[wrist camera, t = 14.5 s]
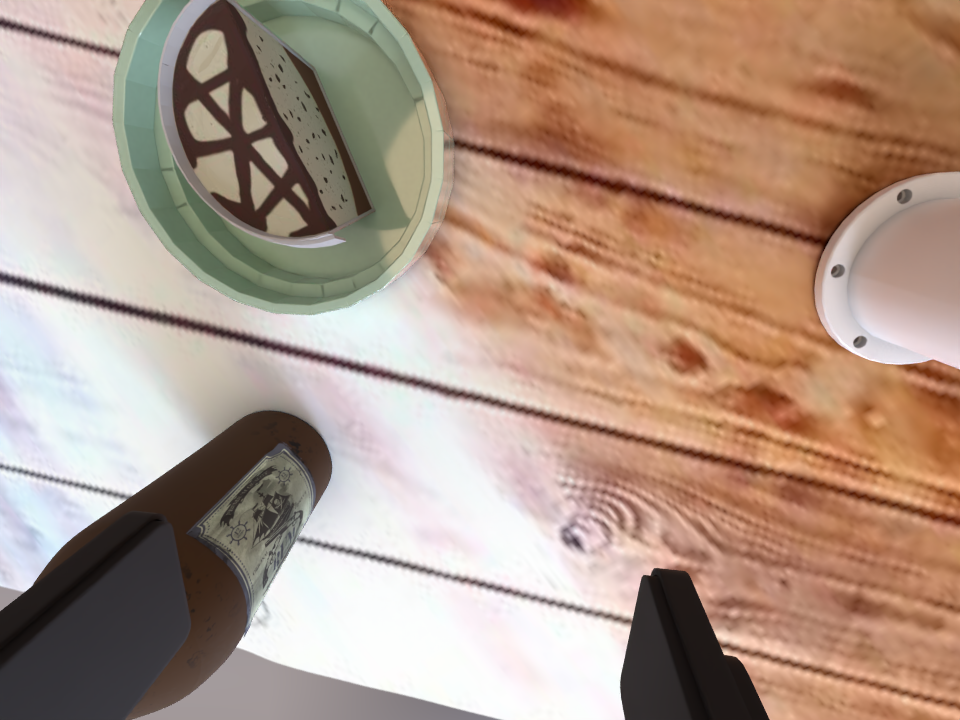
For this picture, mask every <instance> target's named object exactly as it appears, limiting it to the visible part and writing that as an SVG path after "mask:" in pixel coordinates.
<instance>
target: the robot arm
mask: <svg viewBox="0 0 960 720" xmlns="http://www.w3.org/2000/svg"><path fill="white" fill-rule="evenodd" d="M832 268H833V269H832ZM831 270H832V271H831ZM814 293H815V303H816V309H817V312H818V315H819V318H820V321H821V323H822V324H823V326H824V328H825V329H826V331H827V332H828V334H829V335H830V336H831V337H832V338H833V339H834V340H835V341H836V342H837V343H838V344H839V345H840V346H842V347H844V348H845V349H847V350H849V351H850V352H852V353H854V354H856V355H859V356H861V357H863V358H866V359H868V360H872V361H876V362H880V363H884V364H902V365H903V364H911V363H920V362H924V361H928V360H932V359H934V360H937V361H939V362H942V363H945V364H947V365H950V366H953V367H955V368H958V369H960V172H937V173H931V174H924V175H918V176H914V177H911V178H908V179H905V180H902V181H899V182H896V183H894V184H892V185H890V186H888V187H886V188H884V189H883V190H881V191H879V192H877V193H875V194H874V195H873V196H871V197H870V198H868V199H867V200H866V201H864V202H863V203H862V204H860V205H859V206H858V207H857V208H856V209H855V210H854V211H853V212H852V213H851V214H850V215H849V216H848V217H847V218H846V219H845V220H844V221H843V222H842V223H841V225H840V226H839V227H838V229H837V230H836V231H835V233H834V234H833V235H832V237H831V238H830V240H829V242H828V244H827V246H826V248H825V250H824V252H823V254H822V256H821V259H820V262H819V266H818V269H817V272H816V279H815V288H814ZM190 628H191V618H190V613H189V608H188V603H187V598H186V593H185V587H184V582H183V577H182V572H181V567H180V562H179V556H178V551H177V546H176V541H175V536H174V530H173V527H172V524H171V523H169V522H168V521H167V519H166V517H165V516H164V515H163V514H160V513H151V512H142V511H130V512H128V513H126V514H124V515H123V516H121V517H120V518H119V519H118V520H116V521H115V522H114V523H112V524H111V525H110V526H109V527H107V528H106V529H105V530H104V531H102V532H101V533H100V534H98V535H97V536H96V537H95V538H93V539H92V540H91V541H89V542H88V543H87V544H86V545H84V546H83V547H82V548H81V549H79V550H78V551H77V552H75V553H74V554H73V555H72V556H70V557H69V558H68V559H66V560H65V561H64V562H63V563H61V564H60V565H59V566H58V567H56V568H55V569H54V570H52V571H51V572H50V573H49V574H47V575H46V576H45V577H44V578H42V579H41V580H40V581H38V582H37V583H36V584H35V585H33V586H32V587H31V588H29V589H28V590H27V591H26V592H24V593H23V594H22V595H21V596H19V597H18V598H17V599H15V600H14V601H13V602H12V603H10V604H9V605H8V606H6V607H5V608H4V609H3V610H1V611H0V720H125V719H126V718H127V716H128V715H129V714H130V713H131V711H132V710H133V709H134V707H135V706H136V705H137V703H138V702H139V701H140V700H141V698H142V697H143V696H144V694H145V693H146V692H147V690H148V689H149V688H150V687H151V685H152V684H153V683H154V681H155V680H156V679H157V678H158V676H159V675H160V674H161V672H162V671H163V670H164V668H165V667H166V666H167V665H168V663H169V662H170V661H171V659H172V658H173V657H174V655H175V654H176V653H177V652H178V650H179V649H180V648H181V646H182V645H183V644H184V642H185V641H186V639H187V637H188V635H189V632H190ZM620 690H621V700H622V705H623V710H624V716H625V720H769V718H768V715H767V713H766V711H765V709H764V707H763V705H762V703H761V700H760V698H759V696H758V694H757V692H756V690H755V687H754V685H753V683H752V681H751V679H750V677H749V675H748V673H747V671H746V669H745V667H744V666H743V664H742V663H741V662H740V661H739V660H738V659H737V657H733V656H728V655H724V654H723V652H722V650H721V647H720V645H719V643H718V640H717V638H716V636H715V633H714V631H713V629H712V626H711V624H710V622H709V619H708V617H707V615H706V613H705V610H704V608H703V606H702V603H701V601H700V599H699V596H698V594H697V592H696V589H695V587H694V585H693V582H692V580H691V578H690V576H689V574H688V573H687V572H686V571H678V570H669V569H660V568H654V569H653V571H652V573H651V576H648V575H643V577H642V579H641V583H640V588H639V592H638V597H637V602H636V607H635V612H634V616H633V621H632V626H631V631H630V635H629V640H628V645H627V650H626V654H625V659H624V664H623V669H622V674H621V681H620Z"/></svg>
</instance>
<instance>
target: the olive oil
mask: <svg viewBox="0 0 960 720" xmlns="http://www.w3.org/2000/svg"><path fill="white" fill-rule="evenodd" d="M331 472H332V463H331V457H330V454H329V451H328V448H327V446H326V444H325V443H324V441H323V440H322V438H321V437H320V436H319V434H318V433H317V432H316V431H315V430H314V429H313V428H312V427H311V426H309V425H308V424H307V423H305V422H304V421H302V420H300V419H298V418H296V417H294V416H292V415H289V414H286V413H282V412H276V411H261V412H256V413H253V414H250V415H247V416H245V417H243V418H242V419H240V420H239V421H237V422H236V423H234V424H233V425H232V426H230V427H229V428H228V429H226V430H225V431H224V432H222V433H221V434H219V435H218V436H217V437H215V438H214V439H213V440H211V441H210V442H209V443H207V444H206V445H205V446H203V447H202V448H200V449H199V450H198V451H196V452H195V453H193V454H192V455H191V456H189V457H188V458H186V459H185V460H183V461H182V462H181V463H179V464H178V465H176V466H175V467H173V468H172V469H171V470H169V471H168V472H166V473H165V474H163V475H162V476H161V477H159V478H158V479H156V480H155V481H153V482H152V483H151V484H149V485H148V486H146V487H145V488H143V489H142V490H140V491H139V492H138V493H136V494H135V495H133V496H132V497H130V498H129V499H127V500H126V501H124V502H123V503H122V504H120V505H119V506H117V507H116V508H114V509H113V510H111V511H110V512H108V513H107V514H105V515H104V516H103V517H101V518H100V519H98V520H97V521H95V522H94V523H92V524H91V525H89V526H88V527H87V528H85V529H84V530H82V531H81V532H80V533H78V534H77V535H76V536H74V537H73V538H72V539H71V540H70V541H69V542H67V543H66V544H65V545H64V546H63V547H62V548H61V549H60V550H59V551H58V552H57V554H56V555H55V556H54V557H53V558H52V559H51V561H50V562H49V563H48V565H47V566H46V567H45V569H44V570H43V571H42V573H41V574H40V575H39V577H38V578H37V580H36V581H35V583H34V584H33V585H35V584H36V583H37V582H38V581H40V580H41V579H42V578H44V577H45V576H46V575H47V574H49V573H50V572H51V571H52V570H54V569H55V568H56V567H58V566H59V565H60V564H61V563H63V562H64V561H65V560H66V559H68V558H69V557H70V556H72V555H73V554H74V553H75V552H77V551H78V550H79V549H81V548H82V547H83V546H84V545H86V544H87V543H88V542H89V541H91V540H92V539H93V538H95V537H96V536H97V535H98V534H100V533H101V532H102V531H104V530H105V529H106V528H107V527H109V526H110V525H111V524H112V523H114V522H115V521H116V520H118V519H119V518H120V517H121V516H123V515H124V514H126V513H128V512H130V511H142V512H151V513H160V514H163V515H164V516H165V517H166V519H167V521H168V522H169V523H171V524H172V527H173V530H174V536H175V541H176V546H177V551H178V556H179V562H180V567H181V572H182V577H183V582H184V587H185V593H186V598H187V603H188V608H189V613H190V618H191V628H190V632H189V635H188V637H187V639H186V641H185V642H184V644H183V645H182V646H181V648H180V649H179V650H178V652H177V653H176V654H175V655H174V657H173V658H172V659H171V661H170V662H169V663H168V665H167V666H166V667H165V668H164V670H163V671H162V672H161V674H160V675H159V676H158V678H157V679H156V680H155V681H154V683H153V684H152V685H151V687H150V688H149V689H148V690H147V692H146V693H145V694H144V696H143V697H142V698H141V700H140V701H139V702H138V703H137V705H136V706H135V707H134V709H133V710H132V711H131V713H130V714H129V715H128V716H127V718H126V719H125V720H132V719H135V718H138V717H141V716H144V715H147V714H150V713H153V712H155V711H158V710H161V709H163V708H165V707H168V706H170V705H172V704H174V703H176V702H178V701H180V700H181V699H183V698H184V697H186V696H187V695H189V694H190V693H191V692H193V691H194V690H195V689H197V688H198V687H199V686H200V685H201V684H202V683H204V682H205V681H206V680H207V679H208V678H209V677H210V676H211V675H212V674H213V673H214V672H215V671H216V670H217V669H218V668H219V667H220V666H221V665H222V664H223V663H224V662H225V661H226V660H227V658H228V657H229V656H230V655H231V653H232V652H233V651H234V649H235V648H236V646H237V645H238V643H239V641H240V640H241V638H242V636H243V634H244V633H245V634H244V636H245V635H246V633H247V631H248V629H249V627H250V625H251V622H252V619H253V617H254V615H255V613H256V612H257V610H258V608H259V606H260V604H261V602H262V601H263V599H264V597H265V595H266V593H267V592H268V590H269V588H270V586H271V584H272V582H273V581H274V579H275V577H276V575H277V573H278V572H279V570H280V568H281V566H282V564H283V563H284V561H285V559H286V557H287V556H288V554H289V552H290V550H291V548H292V547H293V545H294V543H295V541H296V540H297V538H298V536H299V534H300V532H301V531H302V529H303V527H304V525H305V524H306V522H307V520H308V518H309V516H310V515H311V513H312V511H313V510H314V508H315V506H316V505H317V503H318V501H319V500H320V498H321V496H322V495H323V493H324V491H325V489H326V488H327V486H328V483H329V481H330V477H331Z"/></svg>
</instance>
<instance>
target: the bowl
mask: <svg viewBox="0 0 960 720" xmlns="http://www.w3.org/2000/svg"><path fill="white" fill-rule="evenodd" d="M189 1H190V0H145V2H144V4H143V5H142V7H141V8H140V10H139V11H138V13H137V14H136V16H135V17H134V19H133V21H132V22H131V24H130V25H129V27H128V28H129V29H127V32H126V35H125V39H124V42H123V46H122V49H121V52H120V56H119V59H118V63H117V66H116V69H115V74H114V88H113V118H112V121H113V127H114V132H115V137H116V142H117V147H118V152H119V157H120V162H121V167H122V171H123V173H124V176H125V178H126V180H127V183H128V185H129V187H130V190H131V192H132V194H133V197H134V199H135V201H136V203H137V206H138V208H139V210H140V212H141V214H142V215H143V217H144V218H145V220H146V221H147V222H148V224H149V225H150V227H151V228H152V229H153V231H154V232H155V234H156V235H157V237H158V238H159V239H160V241H161V242H162V244H163V245H164V247H165V248H166V249H167V250H168V251H169V252H170V253H171V254H172V255H173V256H174V257H175V258H176V259H177V260H178V261H179V262H180V263H181V264H183V265H184V266H185V267H186V268H187V269H188V270H189V271H190V272H191V273H192V274H193V275H194V276H195V277H197V278H198V279H199V280H200V281H202V282H203V283H205V284H207V285H208V286H210V287H212V288H214V289H215V290H217V291H219V292H220V293H222V294H224V295H225V296H227V297H229V298H231V299H232V300H234V301H236V302H239V303H242V304H245V305H249V306H252V307H255V308H258V309H261V310H265V311H268V312H271V313H277V314H297V315H316V314H321V313H325V312H330V311H334V310H339V309H343V308H347V307H350V306H353V305H354V304H356V303H358V302H360V301H362V300H363V299H365V298H367V297H369V296H371V295H373V294H374V293H376V292H378V291H380V290H382V289H383V288H385V287H386V286H388V285H389V284H391V283H392V282H394V281H395V280H397V279H398V278H400V277H401V276H402V275H403V274H404V273H405V272H406V271H407V270H408V269H409V268H410V267H411V266H412V265H413V264H414V263H415V262H416V261H417V260H418V259H419V258H420V257H421V256H422V255H423V254H424V253H425V252H426V250H427V249H428V247H429V245H430V243H431V242H432V240H433V238H434V236H435V235H436V233H437V231H438V229H439V228H440V226H441V224H442V222H443V220H444V217H445V213H446V209H447V206H448V202H449V198H450V194H451V191H452V187H453V182H454V138H453V134H452V129H451V125H450V120H449V116H448V112H447V107H446V103H445V99H444V96H443V94H442V92H441V90H440V88H439V86H438V84H437V82H436V80H435V78H434V76H433V74H432V72H431V70H430V68H429V66H428V64H427V62H426V60H425V58H424V57H423V55H422V54H421V52H420V50H419V49H418V47H417V46H416V44H415V43H414V41H413V39H412V38H411V36H410V35H409V33H408V32H407V30H406V29H405V28H404V27H403V26H402V24H401V23H400V22H399V21H398V20H397V19H396V17H395V16H394V15H393V14H392V13H391V11H390V10H389V9H388V8H387V7H386V6H385V4H384V3H383V2H382V1H381V0H235V1H237V2H238V3H239V4H240V5H241V6H243V7H244V8H245V9H246V10H247V11H248V12H250V13H251V14H252V15H253V16H254V17H256V18H257V19H258V20H259V21H260V22H262V23H263V24H264V25H265V26H266V27H267V28H269V29H270V30H271V31H272V32H273V33H275V34H276V35H277V36H278V37H279V38H280V39H282V40H283V41H284V42H285V43H286V44H288V45H289V46H290V47H291V48H292V49H294V50H295V51H296V52H297V53H298V54H299V55H301V56H302V57H303V58H304V59H305V60H307V61H308V62H309V63H310V64H311V65H312V66H314V67H315V69H316V71H317V73H318V76H319V78H320V80H321V83H322V85H323V88H324V90H325V92H326V95H327V97H328V99H329V102H330V104H331V106H332V109H333V111H334V114H335V116H336V118H337V121H338V123H339V125H340V128H341V130H342V132H343V135H344V137H345V139H346V142H347V144H348V147H349V149H350V151H351V154H352V156H353V158H354V161H355V163H356V165H357V168H358V170H359V173H360V175H361V177H362V180H363V182H364V184H365V187H366V189H367V191H368V194H369V196H370V198H371V201H372V203H373V206H374V208H375V210H376V211H375V212H373V213H371V214H369V215H368V216H366V217H364V218H362V219H360V220H358V221H356V222H354V223H352V224H351V225H349V226H347V227H345V228H343V229H341V230H339V231H337V232H335V233H334V234H335V236H338V237H342V238H345V239H346V242H342V243H339V244H336V245H333V246H327V247H319V248H297V247H291V246H286V245H281V244H277V243H273V242H269V241H266V240H263V239H260V238H258V237H255V236H252V235H250V234H248V233H246V232H244V231H242V230H240V229H239V228H237V227H235V226H233V225H232V224H231V223H229V222H228V221H226V220H225V219H224V218H222V217H221V216H220V215H218V214H217V213H216V212H215V211H214V210H213V209H212V208H211V207H210V206H208V205H207V204H206V203H205V202H204V201H203V200H202V199H201V198H200V197H199V195H198V194H197V193H196V192H195V190H194V189H193V188H192V187H191V185H190V184H189V183H188V182H187V180H186V179H185V177H184V175H183V174H182V172H181V170H180V169H179V167H178V166H177V164H176V162H175V159H174V157H173V155H172V153H171V151H170V148H169V146H168V144H167V140H166V137H165V134H164V130H163V127H162V123H161V118H160V112H159V106H158V85H157V82H158V73H159V63H160V59H161V55H162V51H163V47H164V43H165V41H166V38H167V36H168V34H169V31H170V29H171V27H172V25H173V23H174V21H175V20H176V18H177V17H178V15H179V14H180V12H181V11H182V9H183V8H184V7H185V6H186V4H187V3H188V2H189Z"/></svg>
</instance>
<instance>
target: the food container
mask: <svg viewBox="0 0 960 720" xmlns="http://www.w3.org/2000/svg"><path fill="white" fill-rule="evenodd" d="M157 85H158V106H159V112H160V118H161V123H162V127H163V130H164V134H165V137H166V140H167V144H168V146H169V148H170V151H171V153H172V155H173V157H174V159H175V162H176V164H177V166H178V167H179V169H180V170H181V172H182V174H183V175H184V177H185V179H186V180H187V182H188V183H189V184H190V185H191V187H192V188H193V189H194V190H195V192H196V193H197V194H198V195H199V197H200V198H201V199H202V200H203V201H204V202H205V203H206V204H207V205H208V206H210V207H211V208H212V209H213V210H214V211H215V212H216V213H217V214H218V215H220V216H221V217H222V218H224V219H225V220H226V221H228V222H229V223H231V224H232V225H233V226H235V227H237V228H239V229H240V230H242V231H244V232H246V233H248V234H250V235H252V236H255V237H258V238H260V239H263V240H266V241H269V242H273V243H277V244H281V245H286V246H291V247H297V248H319V247H327V246H333V245H336V244H339V243H342V242H346V239H345V238H342V237H338V236H335V234H334V233H335V232H337V231H339V230H341V229H343V228H345V227H347V226H349V225H351V224H352V223H354V222H356V221H358V220H360V219H362V218H364V217H366V216H368V215H369V214H371V213H373V212H375V211H376V210H375V208H374V206H373V203H372V201H371V198H370V196H369V194H368V191H367V189H366V187H365V184H364V182H363V180H362V177H361V175H360V173H359V170H358V168H357V165H356V163H355V161H354V158H353V156H352V154H351V151H350V149H349V147H348V144H347V142H346V139H345V137H344V135H343V132H342V130H341V128H340V125H339V123H338V121H337V118H336V116H335V114H334V111H333V109H332V106H331V104H330V102H329V99H328V97H327V95H326V92H325V90H324V88H323V85H322V83H321V80H320V78H319V76H318V73H317V71H316V69H315V67H314V66H312V65H311V64H310V63H309V62H308V61H307V60H305V59H304V58H303V57H302V56H301V55H299V54H298V53H297V52H296V51H295V50H294V49H292V48H291V47H290V46H289V45H288V44H286V43H285V42H284V41H283V40H282V39H280V38H279V37H278V36H277V35H276V34H275V33H273V32H272V31H271V30H270V29H269V28H267V27H266V26H265V25H264V24H263V23H262V22H260V21H259V20H258V19H257V18H256V17H254V16H253V15H252V14H251V13H250V12H248V11H247V10H246V9H245V8H244V7H243V6H241V5H240V4H239V3H238V2H237V1H235V0H190V1H189V2H188V3H187V4H186V6H185V7H184V8H183V9H182V11H181V12H180V14H179V15H178V17H177V18H176V20H175V21H174V23H173V25H172V27H171V29H170V31H169V34H168V36H167V38H166V41H165V43H164V47H163V51H162V55H161V59H160V63H159V73H158V82H157Z"/></svg>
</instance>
